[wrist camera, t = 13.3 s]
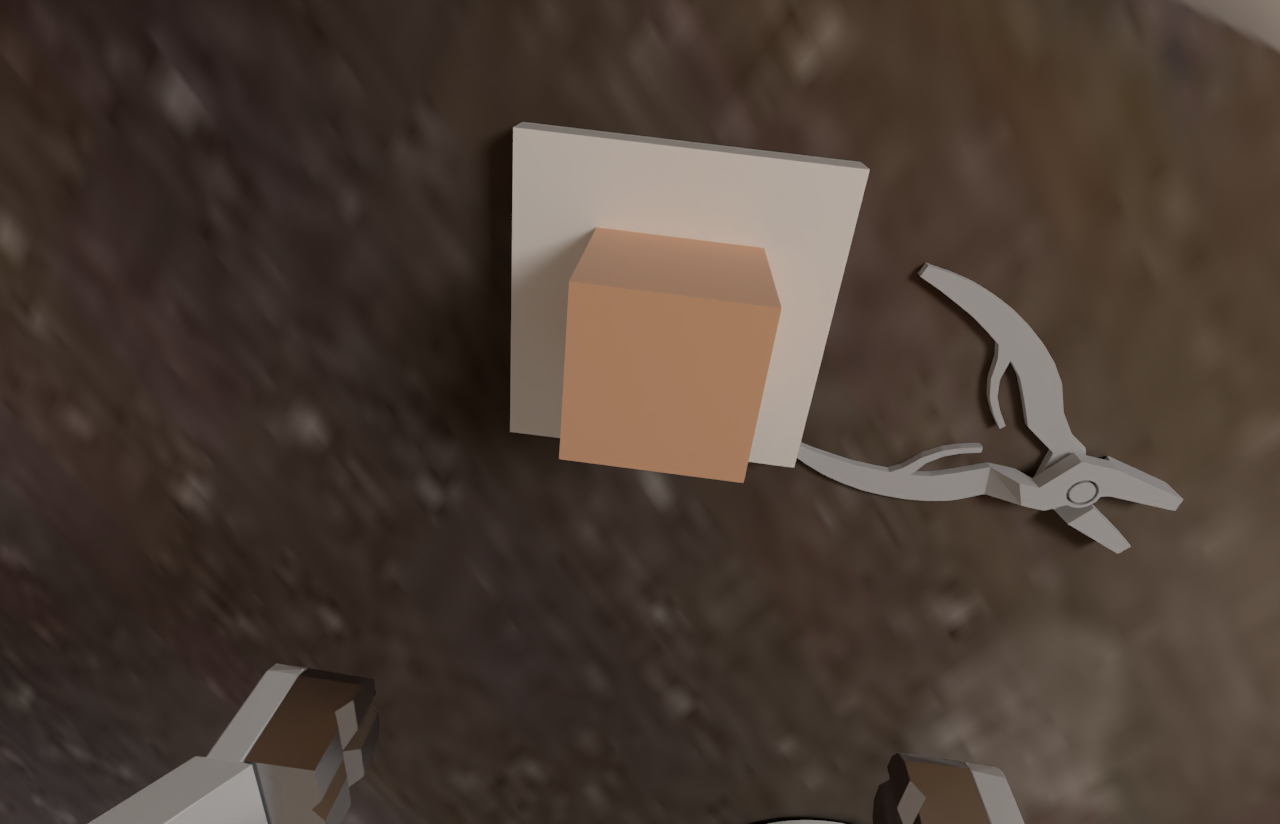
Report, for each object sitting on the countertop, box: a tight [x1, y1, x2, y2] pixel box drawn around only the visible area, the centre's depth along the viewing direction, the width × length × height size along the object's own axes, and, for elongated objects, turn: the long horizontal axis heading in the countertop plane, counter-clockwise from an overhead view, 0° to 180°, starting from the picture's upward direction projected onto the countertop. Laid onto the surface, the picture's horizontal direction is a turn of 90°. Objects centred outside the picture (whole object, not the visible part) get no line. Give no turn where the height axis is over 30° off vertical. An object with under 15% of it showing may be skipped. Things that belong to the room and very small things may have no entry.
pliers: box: [797, 263, 1183, 554], centre depth 29 cm, size 10×2×15 cm
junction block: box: [510, 122, 870, 468], centre depth 25 cm, size 12×12×6 cm
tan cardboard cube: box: [559, 227, 781, 483], centre depth 24 cm, size 6×6×6 cm
